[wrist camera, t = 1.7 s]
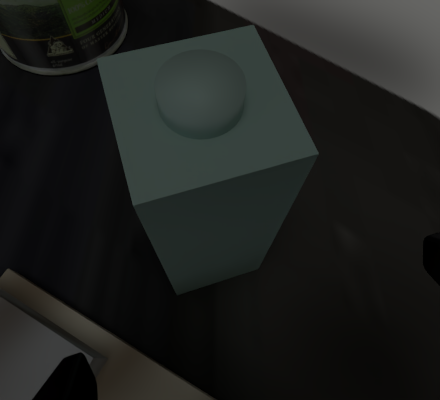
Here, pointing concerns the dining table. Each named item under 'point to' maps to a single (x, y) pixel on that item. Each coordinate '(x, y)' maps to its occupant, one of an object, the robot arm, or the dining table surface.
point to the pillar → (207, 151)
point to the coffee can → (60, 33)
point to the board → (124, 355)
